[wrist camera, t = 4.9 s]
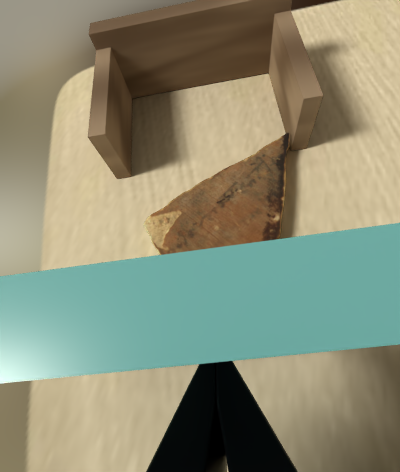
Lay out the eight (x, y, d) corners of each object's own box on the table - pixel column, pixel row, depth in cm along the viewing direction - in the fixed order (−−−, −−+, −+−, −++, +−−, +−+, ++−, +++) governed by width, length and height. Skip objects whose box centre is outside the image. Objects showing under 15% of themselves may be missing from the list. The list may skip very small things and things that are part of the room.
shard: (285, 147, 19) (289, 127, 17) (369, 233, 16) (384, 219, 14) (145, 228, 18) (135, 215, 16) (205, 337, 15) (201, 334, 13)
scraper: (362, 344, 13) (630, 322, 4) (114, 369, 14) (-106, 393, 5) (349, 301, 14) (547, 202, 5) (116, 327, 15) (-72, 286, 6)
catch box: (306, 148, 18) (329, 77, 13) (116, 178, 19) (78, 123, 14) (278, 59, 21) (289, -20, 17) (120, 90, 23) (90, 23, 18)
